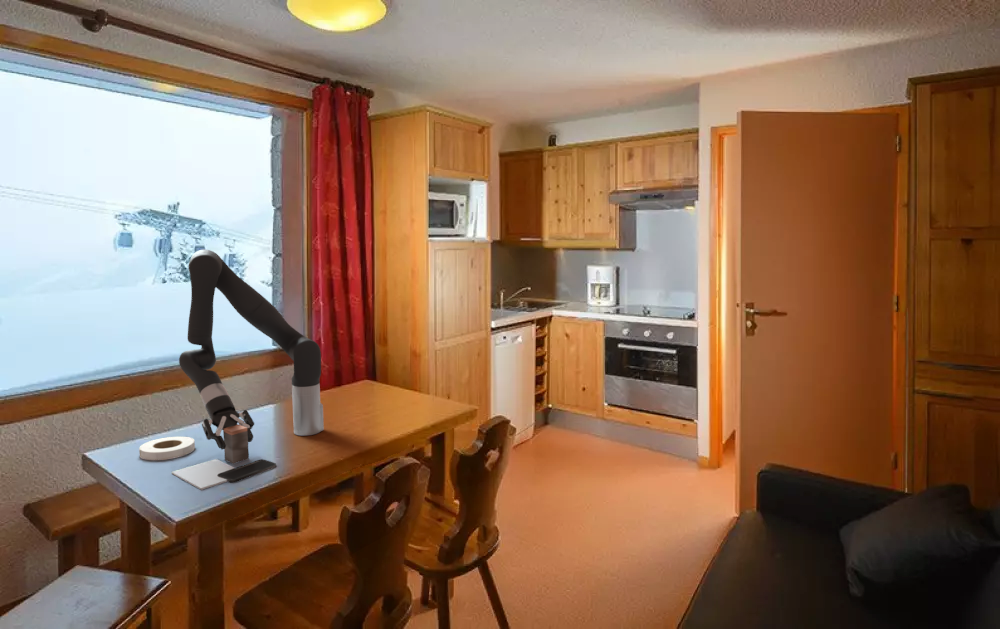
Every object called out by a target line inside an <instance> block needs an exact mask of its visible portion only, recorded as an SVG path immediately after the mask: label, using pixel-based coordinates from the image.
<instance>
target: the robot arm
mask: <svg viewBox="0 0 1000 629" xmlns="http://www.w3.org/2000/svg"><path fill="white" fill-rule="evenodd" d="M188 272H189V279H190V287H191V289H190V290H191V300H190V302H191V303H190V308H189V317H188V324H187V326H188V327H187V341H188V343H190V344H191V345H195V346H201V347H200V349H199V348H198V349H190V350H184V351H183V352H181V354H180V355H179V359H178V363H179V367H180V368H181V369H182V371H183V372H184V374H185V375H186V376H187V377H188V379H190V380H191V381H192V382H193V383H194V385H195V386H196V388H197V390H198V393H199V395H200V397H201V401H202V403H203V406H204V407H205V409H206V412H207V414H208V416H209V418H210V419H208V418H205V419H204V420H203V421H202V423H201V427H202V429H203V432H204V435H205V437H206V440H208V441H211V440H214V441H215V444H216V445H217V447H218V448H219V449H220V450H224V449H225V447H226V444H225V442H224V437H223V436H222V435H221V433H222V431H223V428H227V427H231V426H235V425H241V426H244V427H246V428H247V433H248V443H251V442H252V441H253V439H254V434H253V433H252V429H253V427H254V426H255V422H254V420H253V418H252V416H251V415H250V413H249V411H248V410H247V409H244V410H243V411H241V412H238V411H236V407H235V405H234V402H233V400H232V399H231V397H230V395H229V393H228V391H227V388H226V387H225V386H224V384H223V382H222V380H221V378H220V376H219V374H218V373H217V372H216V371H214V370H211V369H212V368H213V367H215V364H216V363H217V362H216V361H217V356H216V353H215V349H214V342H213V327H214V297H215V291H216V289H217V290H219V291H220V292H221V293H222V295H224V297H225V298H226V300H227V301H228V302H229V304H230V305H231V306H232V307H233V308H234V310H235V311H236V312H237V313H238V314H239V316H241V317H242V318H243V319H245V321H246V322H248V323H249V324H250V325H251V326H252V327H254V328H255V329H257V330H258V331H260V332H261V333H263V335H265V336H267V337H268V338H270V339H271V340H273V342H275V343H276V344H277V345H278V346H279V347H280V348H281V349H282V350H283V352H285V353H286V354H287V356H289V357H290V359H291V360H292V361H293V375H292V377H291V393H292V394H291V397H292V419H293V423H292V424H293V434H294V435H296V436H302V437H303V436H312V435H317V434H319V433H320V432H322V431H324V430H325V428H324V426H325V425H324V405H323V403H322V402H321V388H320V386H321V384H320V379H321V375H322V353H321V348H320V345H319V344H318V343H317V342H316V341H315V340H312V339H311V338H308V337H306V335H305V336H304V335H303V334H302V333H301V332H299V331H298V330H296V329H295V328H294V327H293V326H291V325H290V324H289V323H288V322H287V320H285V318H284V316H283V315H282V314H281V313H280V312H279V310H278V309H277V308H276V307H275V306H274V305H273V304H272V303H271V302H270V301H269V300H268V299H266V298H265V296H263V295H262V294H261V293H260V292H258V291H257V290H256V289H255V288H253V287H252V286H251V285H250V284H248V283H247V282H245V281H244V280H243V279H242V278H240V277H239V276H238V275H237V274H236V272H234V271H233V270H232V269H231V268H230V266H228V265H227V263H226V262H225V261H224V260H223V259H222V258H221V256H219V255H218V253H217V252H214V251H213V250H211V249H200V250H197V251H195V252H194V253H193V254H192V255H191V257H190V259H189V262H188ZM212 425H213V426H215V427H216V429H215V432H213V428H212V427H211V426H212Z"/></svg>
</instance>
